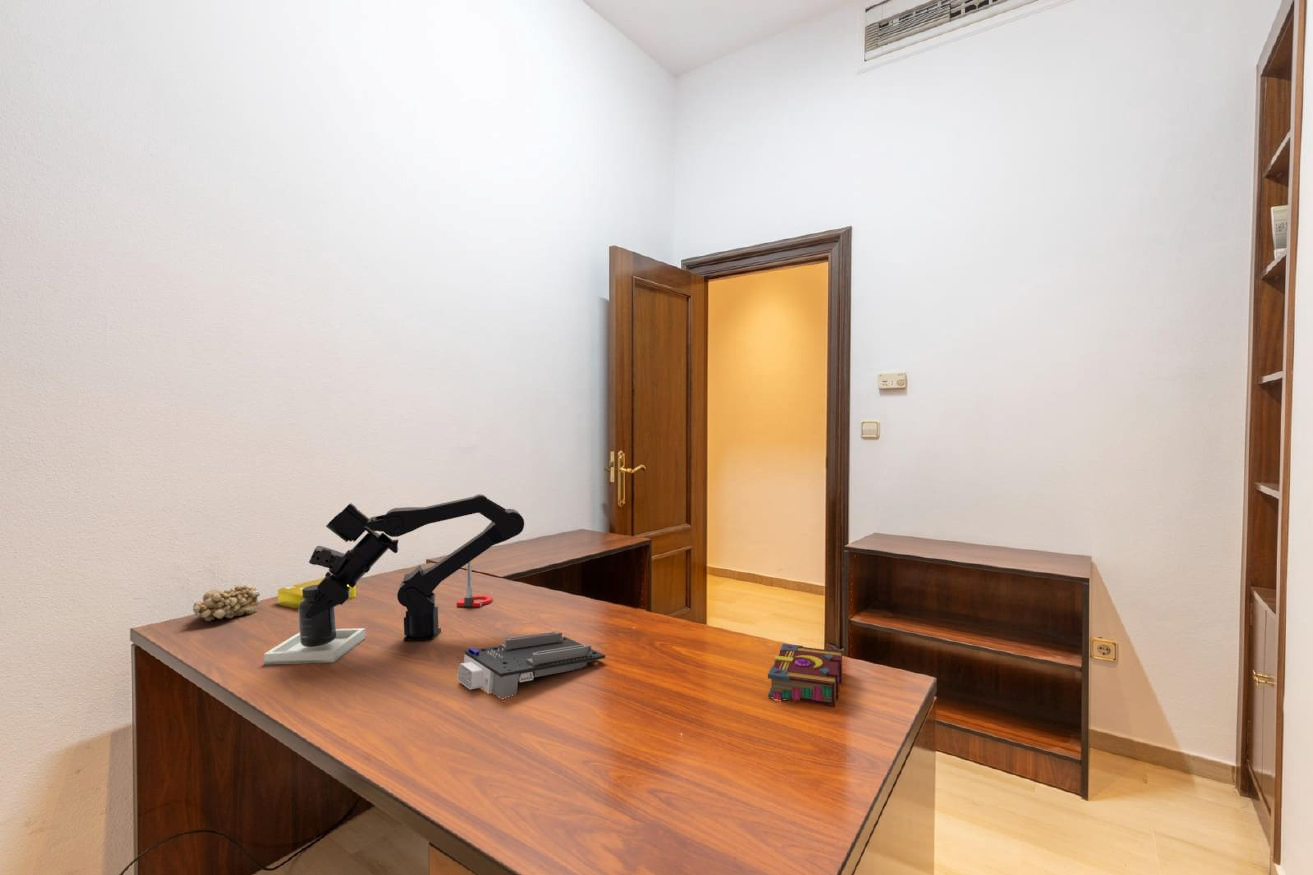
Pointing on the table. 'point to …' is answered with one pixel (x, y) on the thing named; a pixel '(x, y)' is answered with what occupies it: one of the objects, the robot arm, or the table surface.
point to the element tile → (300, 593)
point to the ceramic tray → (314, 649)
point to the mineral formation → (227, 603)
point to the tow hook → (469, 599)
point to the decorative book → (806, 675)
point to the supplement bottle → (315, 621)
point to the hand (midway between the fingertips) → (309, 612)
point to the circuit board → (522, 661)
